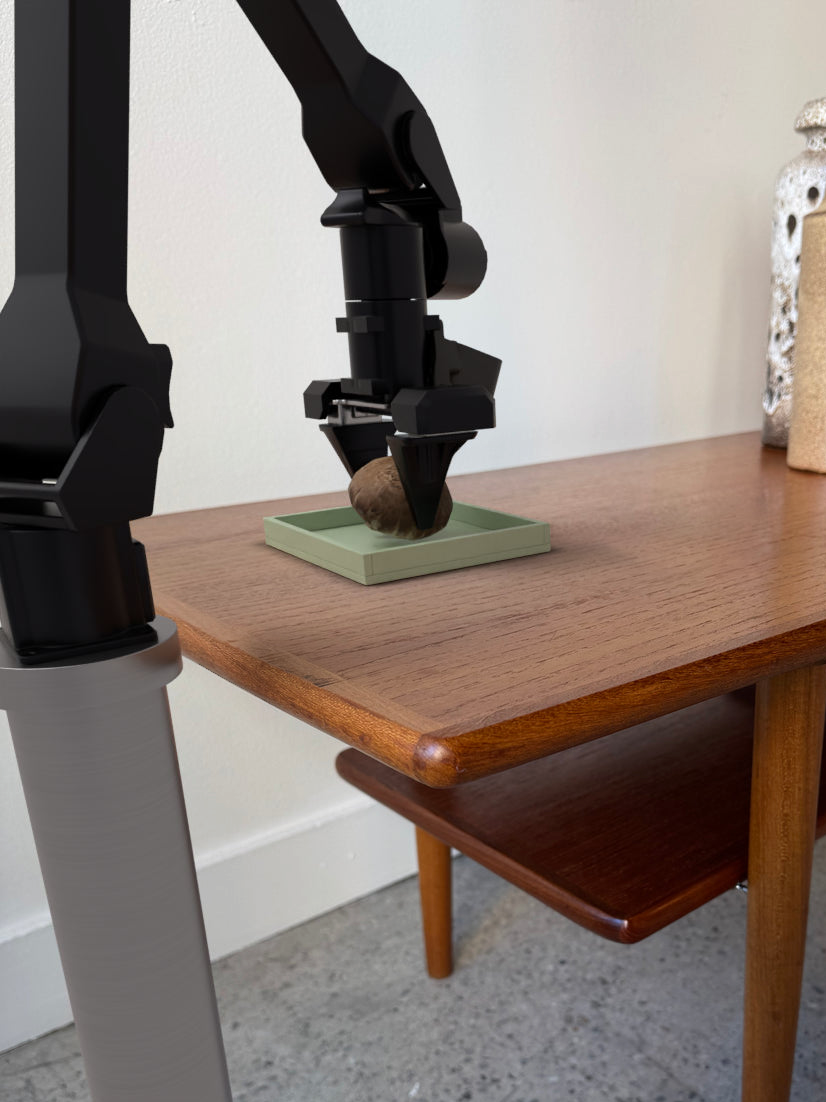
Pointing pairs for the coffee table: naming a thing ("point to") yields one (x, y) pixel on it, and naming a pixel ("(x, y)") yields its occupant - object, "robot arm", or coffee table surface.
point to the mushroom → (391, 502)
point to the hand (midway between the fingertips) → (401, 522)
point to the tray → (404, 542)
